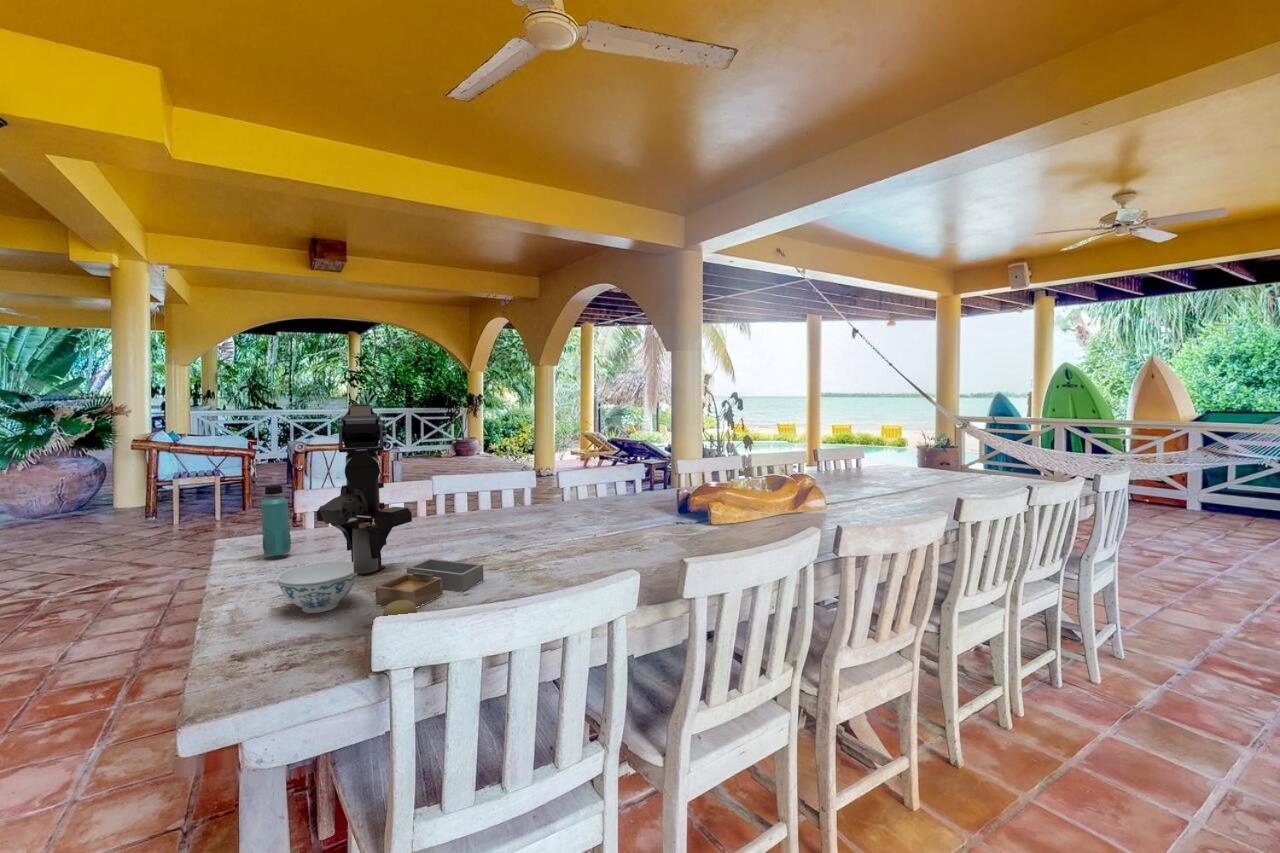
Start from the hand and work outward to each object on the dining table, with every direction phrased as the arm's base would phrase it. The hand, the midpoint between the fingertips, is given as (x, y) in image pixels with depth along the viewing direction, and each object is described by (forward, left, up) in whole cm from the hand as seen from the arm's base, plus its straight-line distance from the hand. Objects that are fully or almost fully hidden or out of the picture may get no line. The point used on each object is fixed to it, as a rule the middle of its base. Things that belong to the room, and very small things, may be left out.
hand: (365, 557), depth 114 cm
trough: (0, +24, -13) cm, 27 cm away
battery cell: (0, 0, -2) cm, 2 cm away
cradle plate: (0, +12, -11) cm, 16 cm away
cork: (+20, -13, -13) cm, 27 cm away
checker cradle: (0, +12, -13) cm, 18 cm away
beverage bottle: (-57, +26, -13) cm, 64 cm away
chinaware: (-15, +3, -13) cm, 20 cm away
